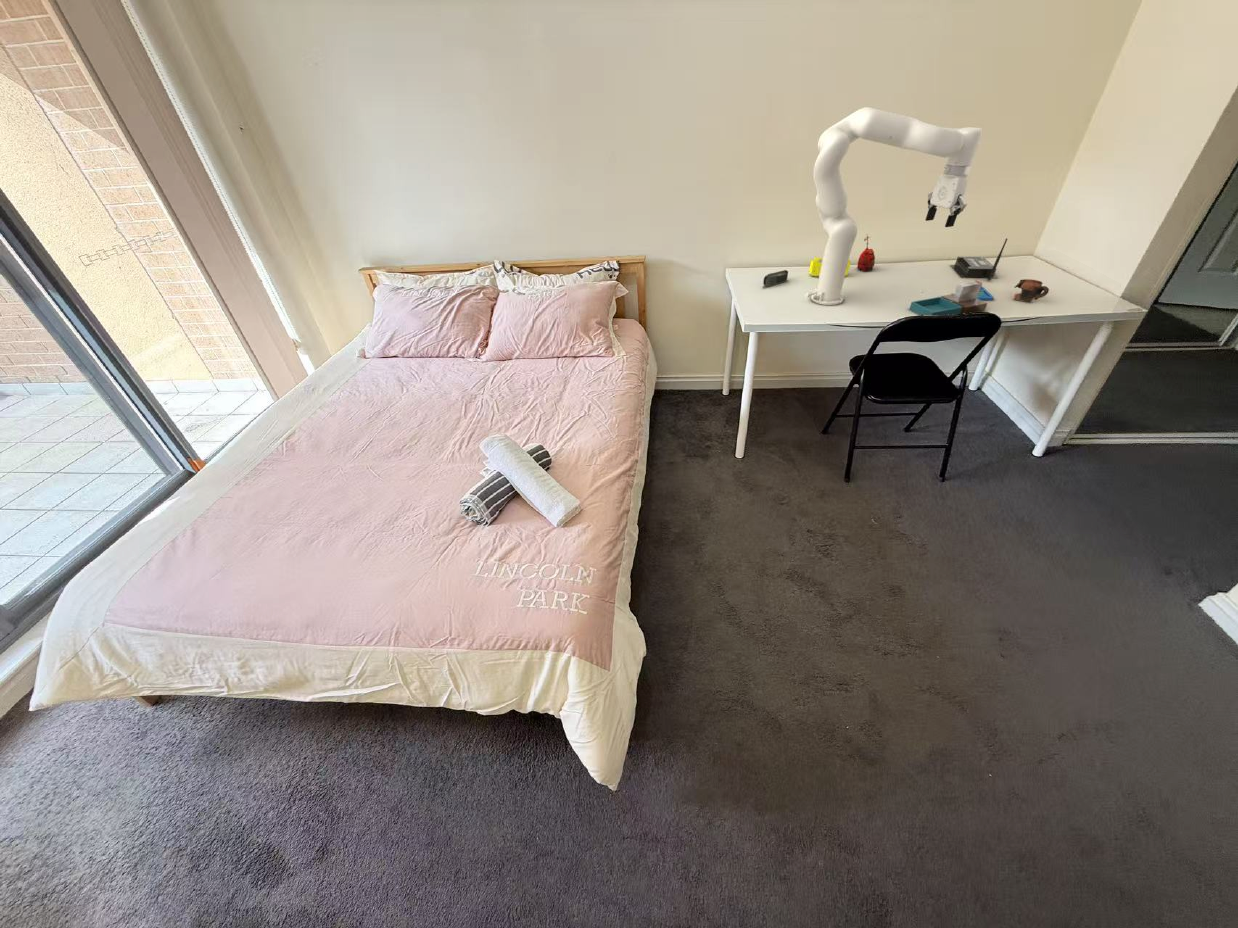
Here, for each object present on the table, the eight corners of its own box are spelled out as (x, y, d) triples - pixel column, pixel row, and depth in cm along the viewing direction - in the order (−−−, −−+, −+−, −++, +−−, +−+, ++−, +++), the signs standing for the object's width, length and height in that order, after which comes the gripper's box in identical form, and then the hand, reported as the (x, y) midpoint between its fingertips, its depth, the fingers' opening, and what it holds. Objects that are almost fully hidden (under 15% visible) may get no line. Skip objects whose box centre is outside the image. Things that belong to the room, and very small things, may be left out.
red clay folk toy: (867, 273, 223) (876, 238, 214) (852, 270, 227) (861, 235, 218) (875, 269, 227) (884, 234, 217) (860, 265, 231) (869, 231, 221)
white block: (957, 302, 187) (964, 286, 183) (952, 299, 189) (958, 283, 185) (976, 298, 189) (983, 282, 185) (970, 296, 191) (977, 280, 187)
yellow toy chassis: (810, 277, 223) (814, 258, 218) (808, 273, 227) (811, 254, 222) (847, 277, 221) (851, 258, 215) (844, 273, 225) (848, 254, 220)
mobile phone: (785, 268, 220) (761, 275, 214) (790, 270, 218) (766, 277, 212) (783, 279, 224) (759, 287, 217) (788, 281, 222) (764, 288, 215)
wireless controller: (950, 265, 225) (965, 225, 214) (984, 265, 223) (1000, 225, 212) (964, 281, 210) (980, 238, 199) (1000, 281, 208) (1019, 238, 197)
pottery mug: (1004, 299, 195) (1013, 277, 193) (1015, 305, 200) (1024, 284, 198) (1039, 300, 185) (1049, 278, 183) (1049, 307, 190) (1059, 285, 188)
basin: (930, 320, 184) (932, 312, 182) (909, 309, 192) (911, 301, 190) (959, 314, 186) (962, 307, 184) (937, 304, 194) (940, 296, 192)
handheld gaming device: (980, 283, 204) (994, 297, 193) (979, 286, 205) (993, 300, 194) (958, 283, 206) (971, 297, 194) (957, 286, 206) (970, 299, 195)
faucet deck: (960, 315, 185) (963, 307, 183) (935, 303, 195) (938, 295, 193) (988, 310, 187) (991, 302, 185) (962, 298, 197) (965, 290, 195)
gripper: (929, 167, 176) (913, 219, 187) (967, 175, 163) (948, 230, 174) (947, 165, 178) (930, 216, 189) (986, 173, 165) (965, 228, 176)
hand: (938, 223), depth 182 cm, fingers open, 9 cm apart
